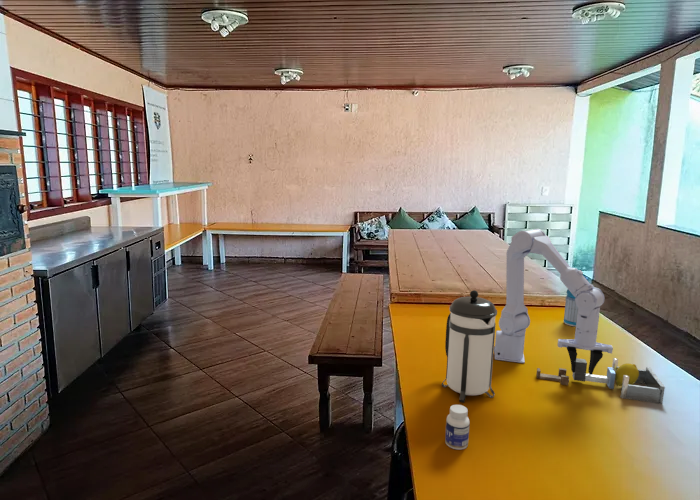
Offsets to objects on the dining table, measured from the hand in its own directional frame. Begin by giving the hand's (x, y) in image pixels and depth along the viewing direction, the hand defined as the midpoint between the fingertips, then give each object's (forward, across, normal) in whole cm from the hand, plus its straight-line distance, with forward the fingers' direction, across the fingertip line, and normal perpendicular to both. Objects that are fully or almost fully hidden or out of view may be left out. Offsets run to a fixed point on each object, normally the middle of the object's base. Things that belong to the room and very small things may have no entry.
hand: (581, 372), depth 142 cm
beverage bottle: (+4, +6, +58) cm, 58 cm away
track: (+3, -8, 0) cm, 9 cm away
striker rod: (+3, +3, 0) cm, 4 cm away
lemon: (+3, +10, 0) cm, 10 cm away
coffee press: (+4, -33, -16) cm, 37 cm away
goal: (+3, +15, 0) cm, 15 cm away
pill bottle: (+4, -33, -44) cm, 55 cm away
